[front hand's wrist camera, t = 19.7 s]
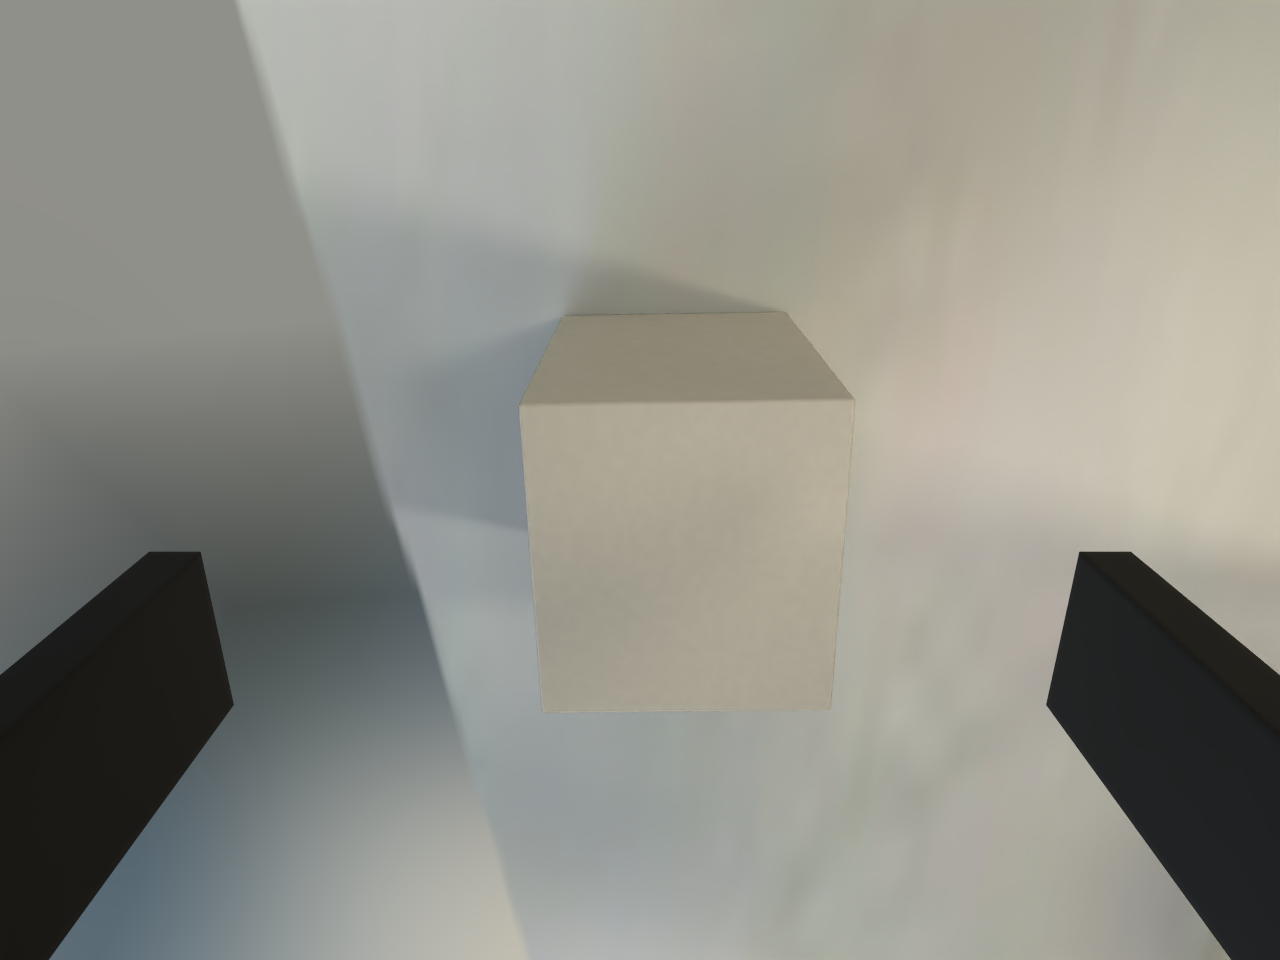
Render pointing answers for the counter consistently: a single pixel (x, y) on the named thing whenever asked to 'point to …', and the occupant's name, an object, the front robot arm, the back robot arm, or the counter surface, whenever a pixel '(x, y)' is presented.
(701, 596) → the brick
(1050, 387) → the counter surface
